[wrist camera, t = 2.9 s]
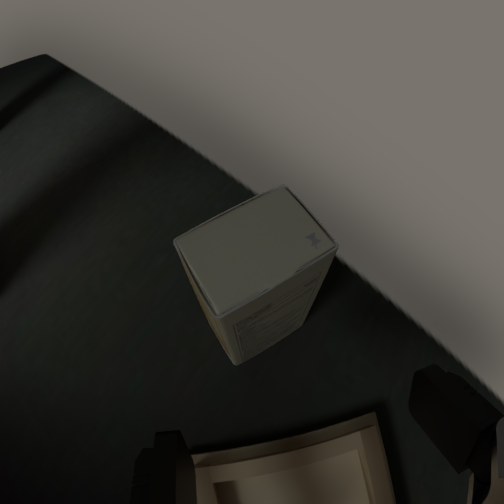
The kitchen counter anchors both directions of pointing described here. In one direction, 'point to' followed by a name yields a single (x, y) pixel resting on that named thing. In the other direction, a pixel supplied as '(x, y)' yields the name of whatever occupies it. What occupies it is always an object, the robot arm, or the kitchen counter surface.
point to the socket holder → (301, 469)
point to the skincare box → (257, 269)
